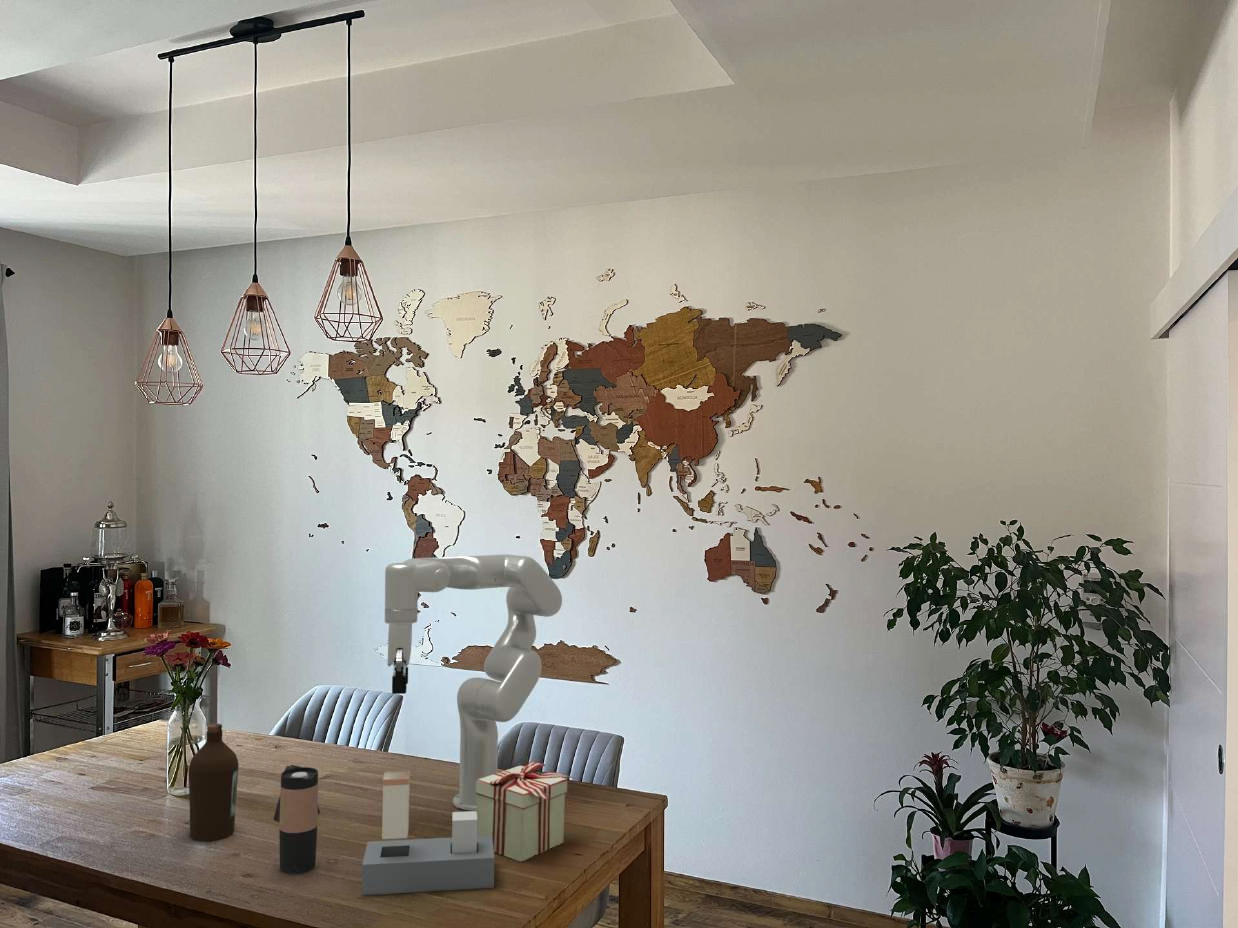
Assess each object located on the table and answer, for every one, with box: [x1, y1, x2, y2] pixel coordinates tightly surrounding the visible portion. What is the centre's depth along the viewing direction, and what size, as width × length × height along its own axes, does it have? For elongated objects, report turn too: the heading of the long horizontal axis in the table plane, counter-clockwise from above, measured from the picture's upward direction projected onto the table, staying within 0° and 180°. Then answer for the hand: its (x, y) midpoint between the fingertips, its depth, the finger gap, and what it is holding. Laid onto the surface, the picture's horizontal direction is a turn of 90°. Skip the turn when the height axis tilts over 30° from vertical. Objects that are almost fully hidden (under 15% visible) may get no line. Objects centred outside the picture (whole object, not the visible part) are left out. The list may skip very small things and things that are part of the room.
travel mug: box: [278, 766, 319, 875], centre depth 199 cm, size 8×8×20 cm
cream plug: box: [381, 770, 411, 840], centre depth 193 cm, size 5×5×12 cm
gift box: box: [476, 761, 571, 863], centre depth 213 cm, size 17×18×17 cm
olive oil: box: [187, 723, 240, 842], centre depth 217 cm, size 11×11×25 cm
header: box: [361, 810, 495, 896], centre depth 194 cm, size 26×12×13 cm, turn 100°
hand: (400, 688), depth 221 cm, fingers open, 9 cm apart
